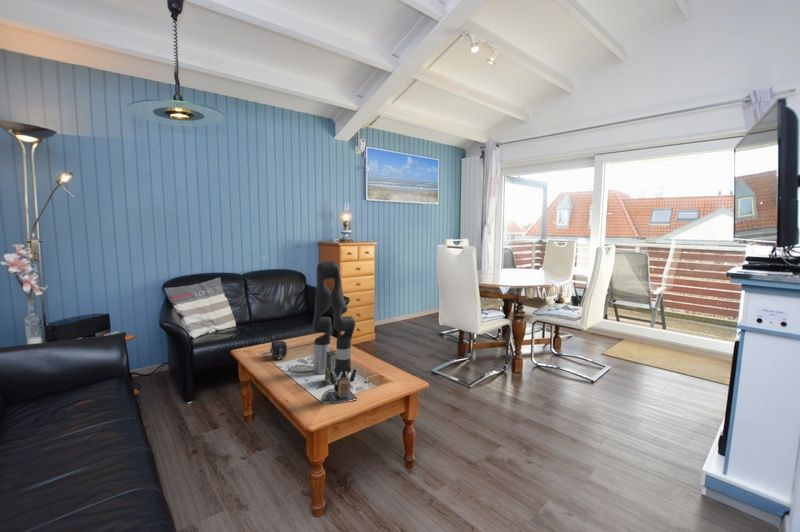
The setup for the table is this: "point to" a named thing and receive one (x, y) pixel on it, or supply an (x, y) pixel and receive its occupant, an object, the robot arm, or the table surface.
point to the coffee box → (330, 365)
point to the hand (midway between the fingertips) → (341, 390)
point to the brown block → (343, 387)
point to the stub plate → (337, 399)
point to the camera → (278, 349)
